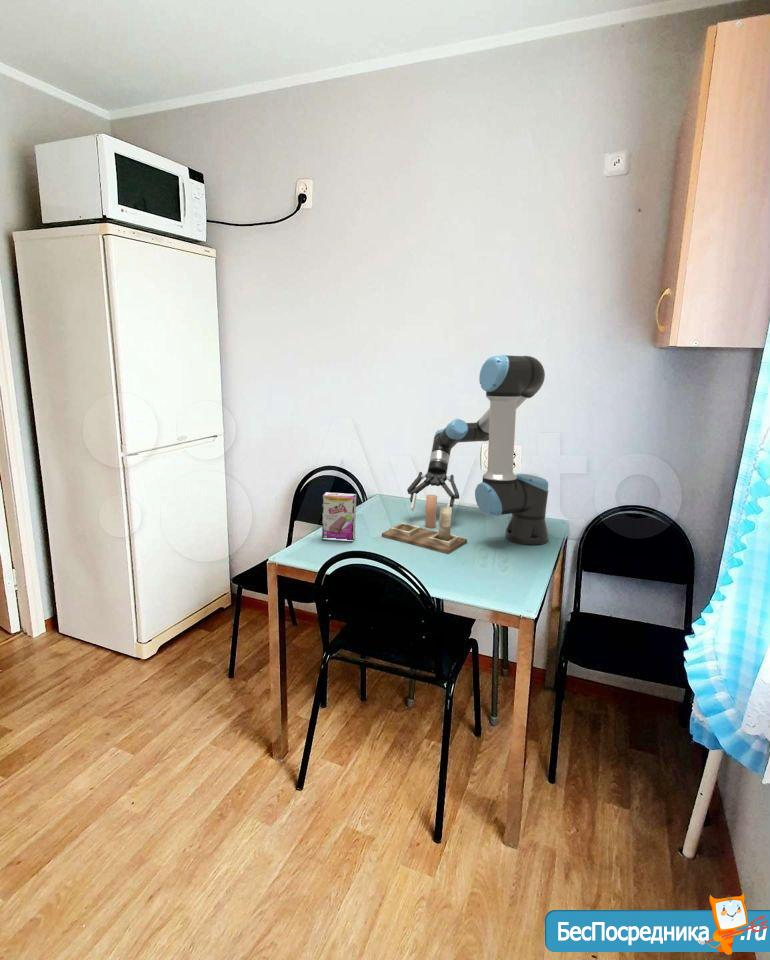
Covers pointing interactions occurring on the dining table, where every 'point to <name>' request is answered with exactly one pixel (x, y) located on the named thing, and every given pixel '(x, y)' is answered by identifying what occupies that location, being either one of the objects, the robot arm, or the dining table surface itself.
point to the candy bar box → (339, 515)
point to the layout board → (428, 534)
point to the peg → (431, 511)
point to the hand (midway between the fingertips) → (429, 511)
